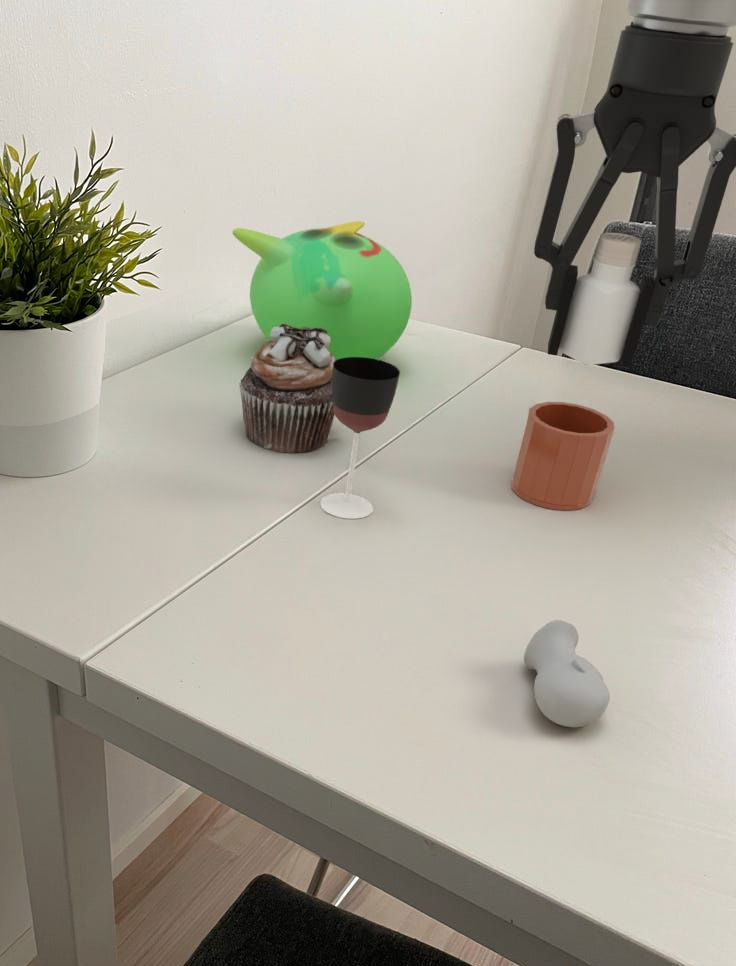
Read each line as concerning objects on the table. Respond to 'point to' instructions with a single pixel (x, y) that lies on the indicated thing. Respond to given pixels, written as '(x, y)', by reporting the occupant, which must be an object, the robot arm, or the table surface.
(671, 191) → the robot arm
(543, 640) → the smooth white sculpture
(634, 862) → the table surface
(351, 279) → the toy bird
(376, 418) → the wineglass
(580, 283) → the pepper shaker
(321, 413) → the cupcake
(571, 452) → the flowerpot
